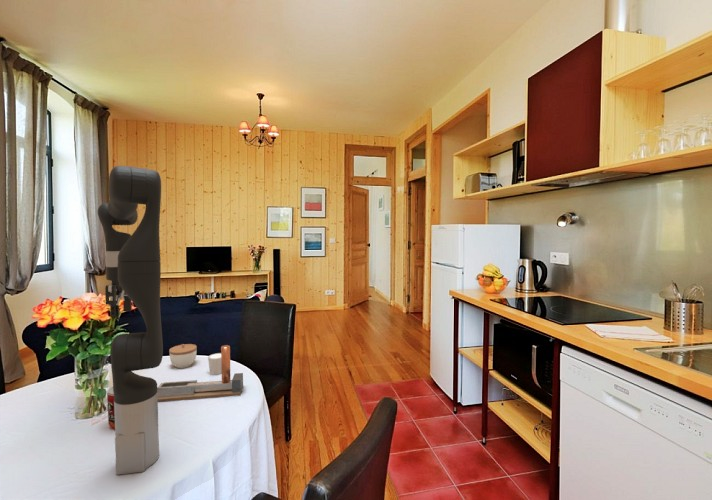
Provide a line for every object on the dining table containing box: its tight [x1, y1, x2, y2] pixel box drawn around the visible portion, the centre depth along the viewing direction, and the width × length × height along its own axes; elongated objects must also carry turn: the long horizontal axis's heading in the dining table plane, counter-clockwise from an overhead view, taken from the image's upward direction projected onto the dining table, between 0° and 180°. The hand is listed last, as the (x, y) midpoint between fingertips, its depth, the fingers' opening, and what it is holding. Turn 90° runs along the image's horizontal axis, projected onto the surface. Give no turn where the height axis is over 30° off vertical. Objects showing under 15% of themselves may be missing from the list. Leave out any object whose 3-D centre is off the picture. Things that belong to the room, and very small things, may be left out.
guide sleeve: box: [157, 379, 198, 398], centre depth 120 cm, size 5×12×3 cm, turn 101°
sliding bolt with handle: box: [187, 344, 232, 392], centre depth 122 cm, size 3×18×16 cm, turn 101°
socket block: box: [231, 372, 244, 393], centre depth 124 cm, size 6×3×4 cm, turn 11°
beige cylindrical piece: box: [207, 352, 222, 376], centre depth 141 cm, size 7×7×7 cm
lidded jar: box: [168, 343, 197, 369], centre depth 147 cm, size 11×11×9 cm
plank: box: [158, 386, 244, 403], centre depth 122 cm, size 7×28×1 cm, turn 101°
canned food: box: [106, 386, 115, 430], centre depth 104 cm, size 8×8×11 cm
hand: (121, 314), depth 111 cm, fingers open, 8 cm apart
